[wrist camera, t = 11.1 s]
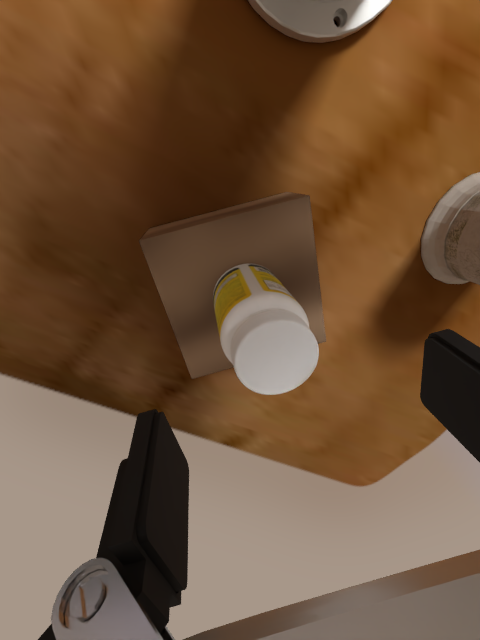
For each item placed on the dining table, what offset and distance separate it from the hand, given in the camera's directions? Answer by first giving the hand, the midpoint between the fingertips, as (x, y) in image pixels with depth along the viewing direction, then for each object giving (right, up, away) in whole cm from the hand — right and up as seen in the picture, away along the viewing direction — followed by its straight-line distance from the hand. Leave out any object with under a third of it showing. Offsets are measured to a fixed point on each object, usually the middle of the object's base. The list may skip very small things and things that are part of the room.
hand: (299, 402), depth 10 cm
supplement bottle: (-2, +5, +11) cm, 12 cm away
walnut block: (-2, +7, +15) cm, 17 cm away
